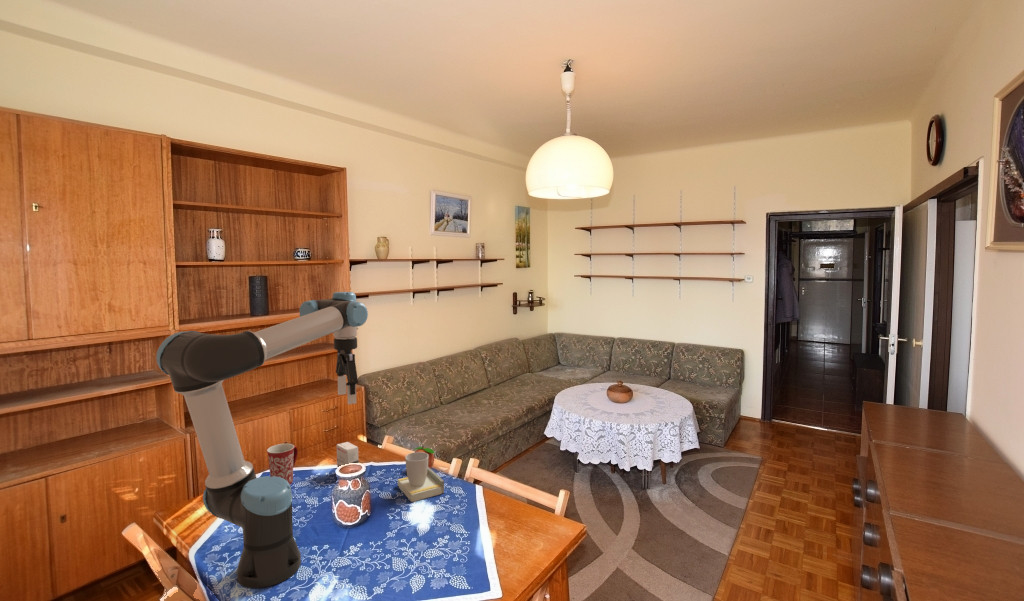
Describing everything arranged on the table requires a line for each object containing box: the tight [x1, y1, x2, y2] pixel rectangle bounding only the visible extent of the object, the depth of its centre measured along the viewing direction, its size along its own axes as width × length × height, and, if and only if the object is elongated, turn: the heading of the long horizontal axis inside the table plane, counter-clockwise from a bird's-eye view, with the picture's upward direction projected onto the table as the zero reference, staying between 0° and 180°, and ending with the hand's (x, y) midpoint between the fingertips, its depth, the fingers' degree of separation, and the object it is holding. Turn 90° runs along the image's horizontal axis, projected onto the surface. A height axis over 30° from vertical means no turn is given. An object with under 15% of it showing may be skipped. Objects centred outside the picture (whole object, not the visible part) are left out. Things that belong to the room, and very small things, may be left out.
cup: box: [404, 451, 428, 487], centre depth 173 cm, size 8×8×10 cm
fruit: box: [412, 444, 435, 470], centre depth 190 cm, size 9×10×10 cm
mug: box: [266, 443, 299, 485], centre depth 180 cm, size 13×9×14 cm
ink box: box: [336, 441, 360, 467], centre depth 185 cm, size 9×5×12 cm, turn 47°
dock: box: [397, 467, 445, 503], centre depth 174 cm, size 14×12×4 cm
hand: (346, 398), depth 166 cm, fingers open, 13 cm apart
